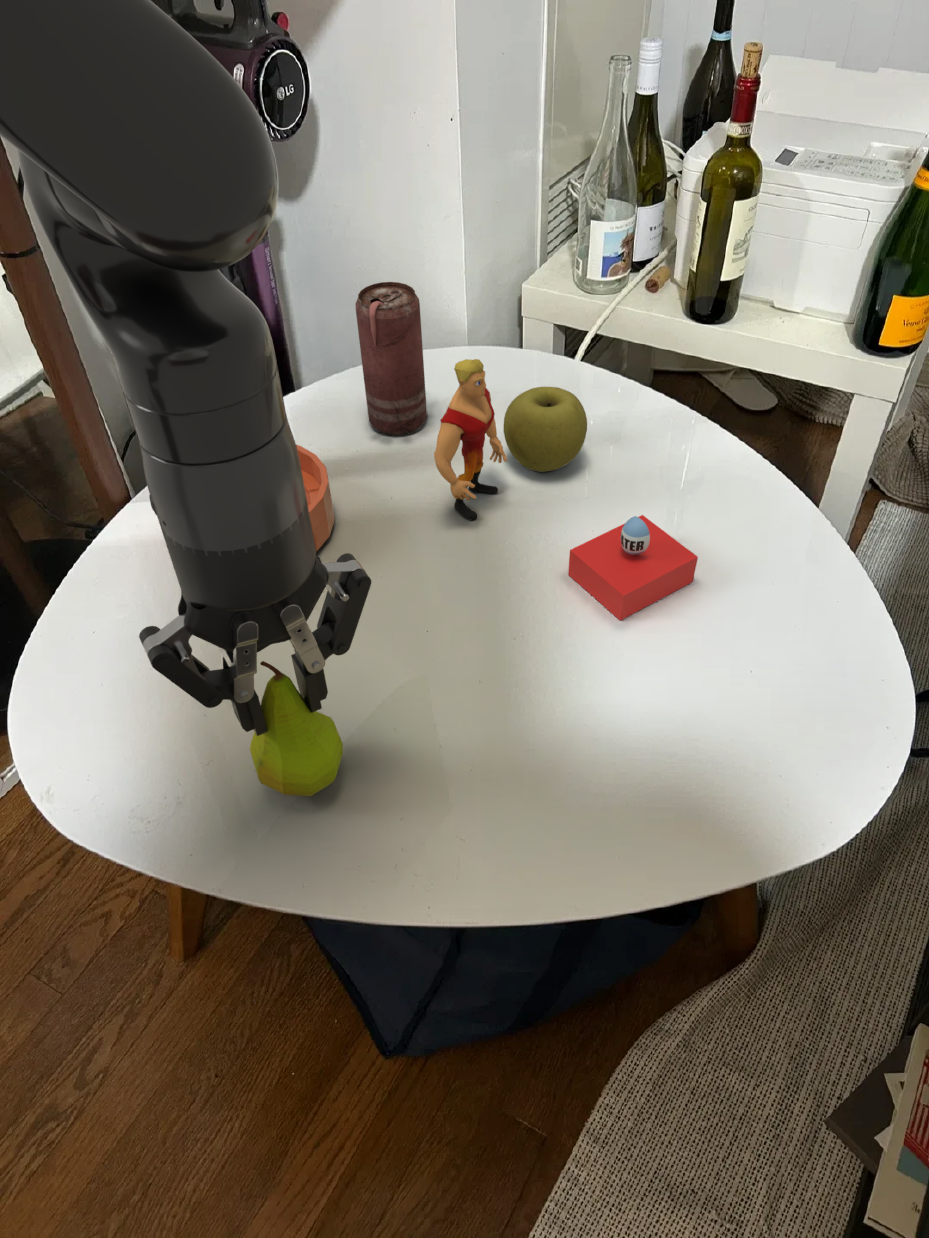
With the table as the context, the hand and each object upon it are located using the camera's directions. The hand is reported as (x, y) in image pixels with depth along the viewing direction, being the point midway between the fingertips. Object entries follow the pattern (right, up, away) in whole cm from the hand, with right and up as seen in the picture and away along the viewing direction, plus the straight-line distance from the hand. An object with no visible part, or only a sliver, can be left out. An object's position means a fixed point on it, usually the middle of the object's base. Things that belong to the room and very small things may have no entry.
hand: (284, 712), depth 59 cm
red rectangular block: (+26, +9, +19) cm, 33 cm away
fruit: (0, -5, +5) cm, 7 cm away
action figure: (+13, +17, +27) cm, 34 cm away
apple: (+19, +21, +32) cm, 43 cm away
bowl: (-7, +14, +25) cm, 30 cm away
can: (+5, +27, +37) cm, 46 cm away
